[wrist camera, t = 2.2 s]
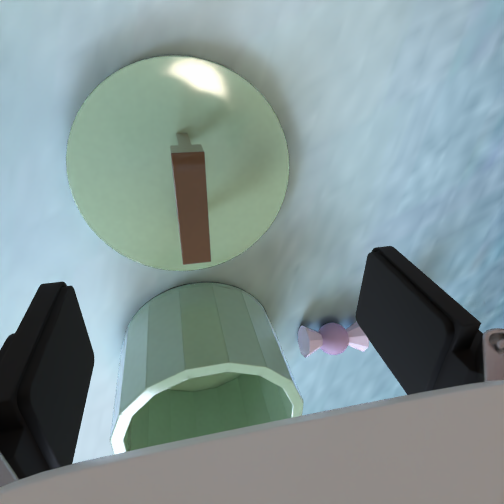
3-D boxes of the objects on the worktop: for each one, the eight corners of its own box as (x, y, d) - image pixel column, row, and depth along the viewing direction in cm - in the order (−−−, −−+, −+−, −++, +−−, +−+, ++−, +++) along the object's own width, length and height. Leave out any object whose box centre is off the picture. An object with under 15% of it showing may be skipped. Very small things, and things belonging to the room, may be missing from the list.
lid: (97, 272, 25) (80, 335, 20) (40, 54, 18) (-10, 56, 13) (279, 252, 28) (309, 302, 22) (290, 55, 21) (336, 57, 15)
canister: (136, 403, 32) (130, 503, 25) (109, 293, 26) (91, 385, 19) (268, 378, 35) (296, 464, 28) (272, 273, 29) (310, 348, 21)
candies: (292, 359, 34) (315, 414, 29) (306, 292, 30) (335, 342, 25) (445, 343, 39) (489, 388, 34) (474, 283, 35) (529, 323, 30)
